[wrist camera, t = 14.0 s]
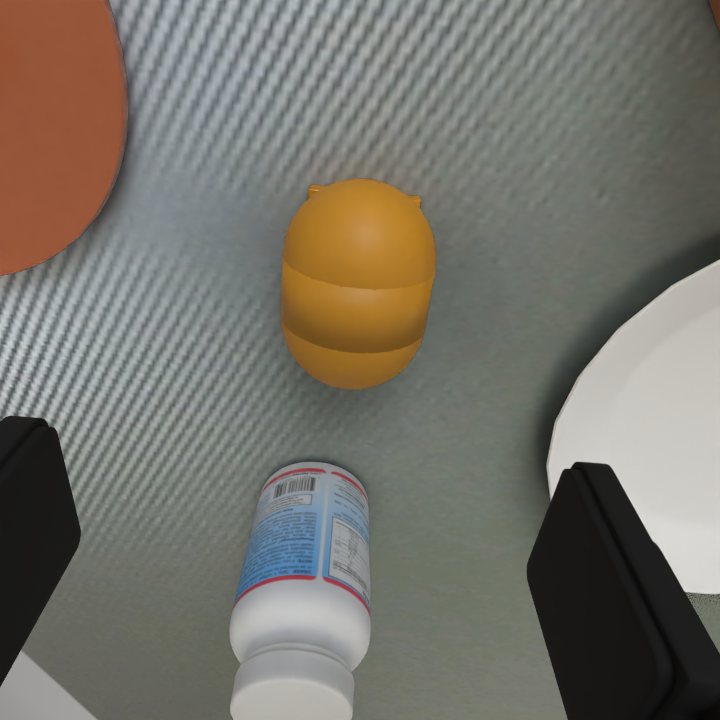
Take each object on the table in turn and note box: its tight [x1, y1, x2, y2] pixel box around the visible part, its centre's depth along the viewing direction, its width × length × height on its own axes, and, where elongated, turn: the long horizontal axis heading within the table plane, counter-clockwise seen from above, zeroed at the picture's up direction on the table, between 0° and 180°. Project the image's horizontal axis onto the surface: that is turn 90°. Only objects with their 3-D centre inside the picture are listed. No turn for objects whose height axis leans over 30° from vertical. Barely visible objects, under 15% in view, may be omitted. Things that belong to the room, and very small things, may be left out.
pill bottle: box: [229, 462, 371, 720], centre depth 26 cm, size 6×6×11 cm
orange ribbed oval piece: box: [281, 179, 436, 389], centre depth 21 cm, size 8×6×6 cm
